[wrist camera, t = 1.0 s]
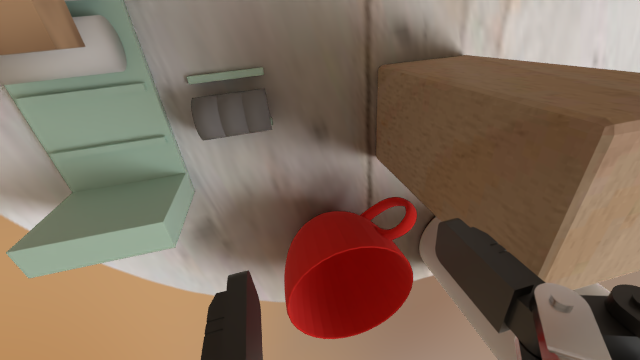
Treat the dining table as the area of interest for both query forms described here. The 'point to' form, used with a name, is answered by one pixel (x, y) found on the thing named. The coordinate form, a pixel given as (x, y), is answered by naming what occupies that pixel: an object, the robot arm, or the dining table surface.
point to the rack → (226, 76)
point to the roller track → (99, 146)
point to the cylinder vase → (495, 341)
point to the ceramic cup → (347, 272)
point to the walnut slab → (36, 26)
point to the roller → (231, 114)
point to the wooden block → (522, 157)
